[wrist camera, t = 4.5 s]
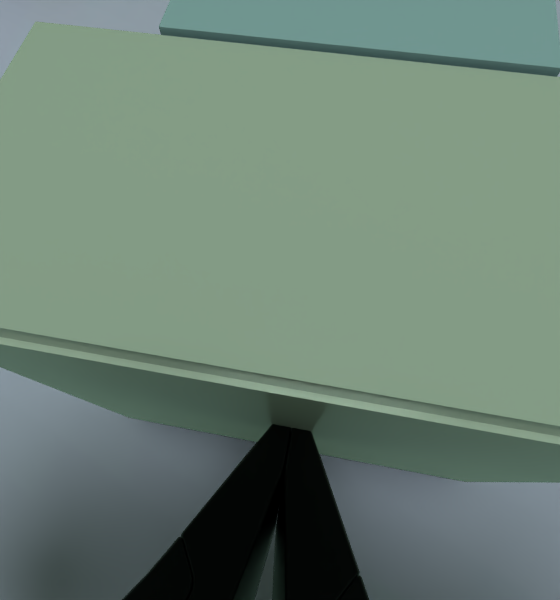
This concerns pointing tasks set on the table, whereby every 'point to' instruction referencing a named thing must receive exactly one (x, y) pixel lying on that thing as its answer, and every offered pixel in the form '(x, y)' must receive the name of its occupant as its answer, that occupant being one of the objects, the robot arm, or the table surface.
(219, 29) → the blue book
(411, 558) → the table surface
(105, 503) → the table surface
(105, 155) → the green book
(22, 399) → the table surface
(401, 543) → the table surface
